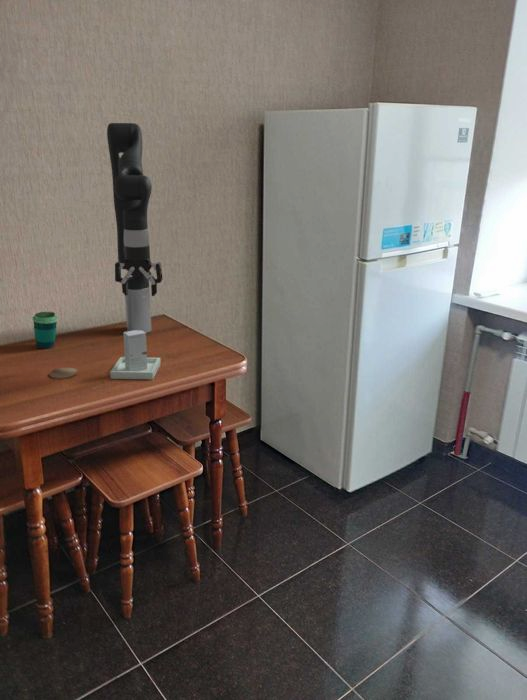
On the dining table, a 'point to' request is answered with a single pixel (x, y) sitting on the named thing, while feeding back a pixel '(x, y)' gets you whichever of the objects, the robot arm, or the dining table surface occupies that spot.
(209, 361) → the dining table surface
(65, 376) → the coaster
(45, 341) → the cup
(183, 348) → the dining table surface
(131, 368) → the skincare box
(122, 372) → the tray
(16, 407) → the dining table surface
